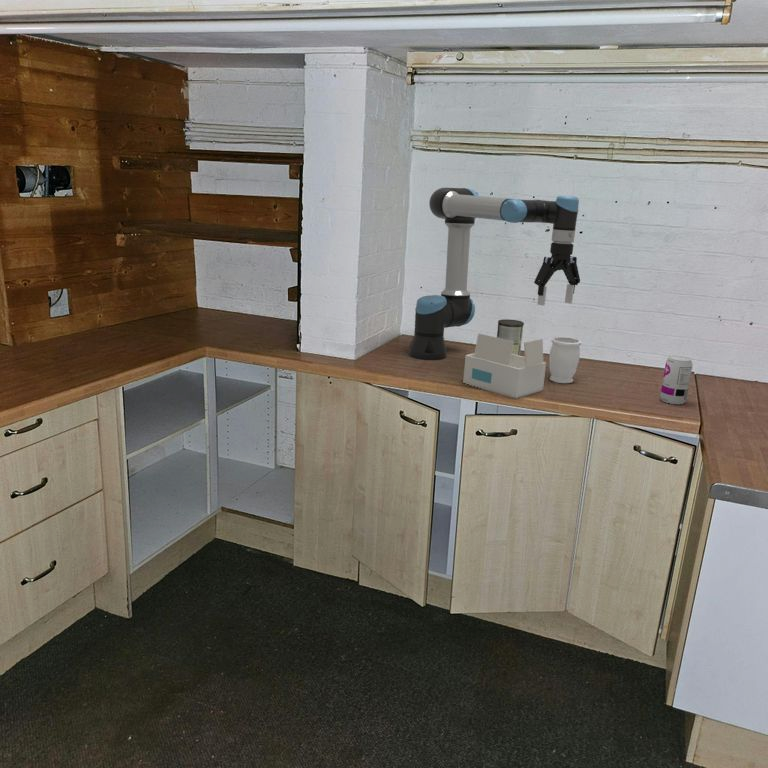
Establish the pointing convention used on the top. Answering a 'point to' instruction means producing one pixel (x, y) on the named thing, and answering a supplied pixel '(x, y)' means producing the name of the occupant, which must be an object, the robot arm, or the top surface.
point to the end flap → (533, 352)
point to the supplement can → (676, 380)
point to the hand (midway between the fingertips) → (554, 304)
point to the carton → (504, 376)
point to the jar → (564, 359)
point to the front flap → (493, 349)
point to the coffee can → (511, 333)
